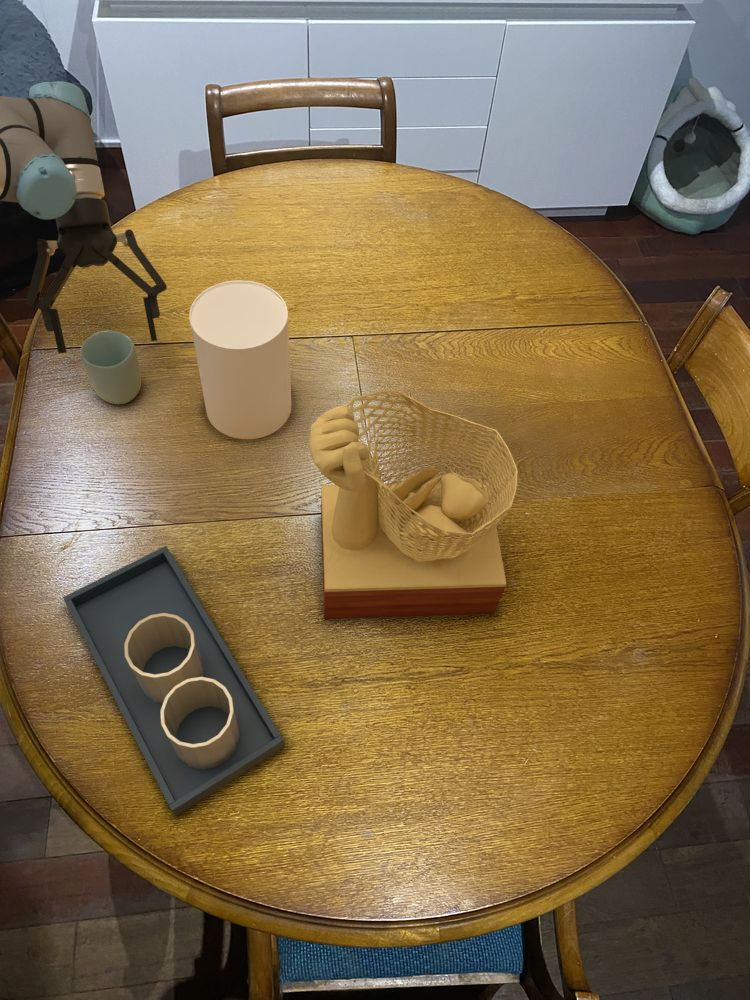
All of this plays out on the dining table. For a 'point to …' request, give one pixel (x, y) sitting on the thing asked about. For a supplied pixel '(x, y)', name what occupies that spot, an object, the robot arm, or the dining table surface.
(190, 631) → the cup
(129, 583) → the tray
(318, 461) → the basket
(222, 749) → the cup
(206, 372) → the canister
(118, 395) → the cup
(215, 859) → the dining table surface
